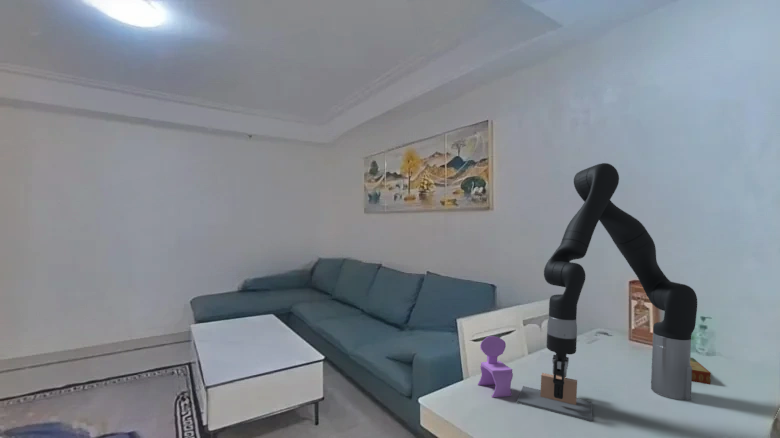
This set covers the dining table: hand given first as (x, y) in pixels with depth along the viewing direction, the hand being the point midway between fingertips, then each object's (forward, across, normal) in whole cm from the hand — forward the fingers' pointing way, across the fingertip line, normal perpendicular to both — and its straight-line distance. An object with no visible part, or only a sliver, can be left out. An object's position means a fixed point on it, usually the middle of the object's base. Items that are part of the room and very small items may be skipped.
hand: (559, 391), depth 105 cm
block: (+2, 0, 0) cm, 2 cm away
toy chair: (+3, -3, +17) cm, 18 cm away
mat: (+3, -2, +1) cm, 3 cm away
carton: (+3, +49, -38) cm, 62 cm away
